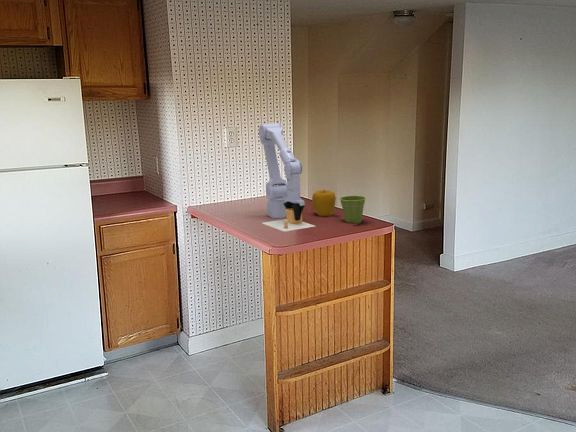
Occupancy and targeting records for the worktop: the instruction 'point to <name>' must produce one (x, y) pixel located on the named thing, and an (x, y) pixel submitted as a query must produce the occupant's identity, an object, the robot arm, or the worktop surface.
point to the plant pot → (353, 208)
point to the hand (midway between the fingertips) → (294, 219)
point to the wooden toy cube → (292, 216)
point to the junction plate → (291, 227)
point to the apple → (324, 202)
